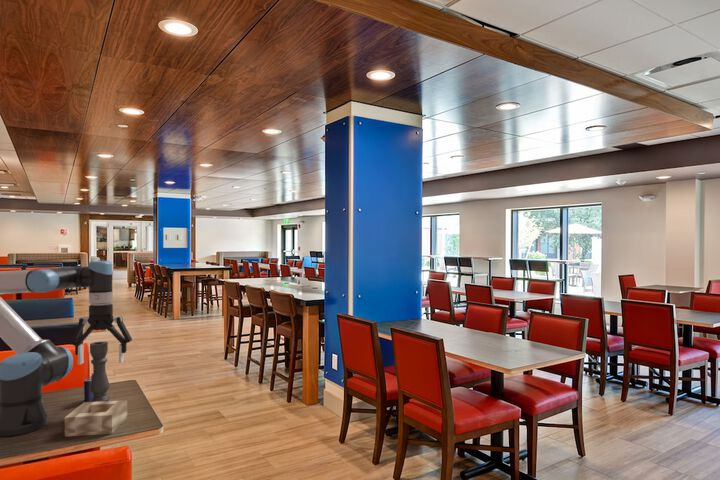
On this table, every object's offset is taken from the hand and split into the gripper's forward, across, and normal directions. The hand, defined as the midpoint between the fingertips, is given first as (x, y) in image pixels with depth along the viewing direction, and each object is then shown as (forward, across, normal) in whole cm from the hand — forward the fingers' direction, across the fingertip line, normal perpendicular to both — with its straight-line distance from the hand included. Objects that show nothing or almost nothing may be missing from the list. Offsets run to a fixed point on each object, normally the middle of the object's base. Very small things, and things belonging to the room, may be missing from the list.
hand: (101, 363), depth 167 cm
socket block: (+18, +4, -13) cm, 22 cm away
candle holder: (+18, 0, 0) cm, 18 cm away
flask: (+18, -8, +14) cm, 24 cm away
